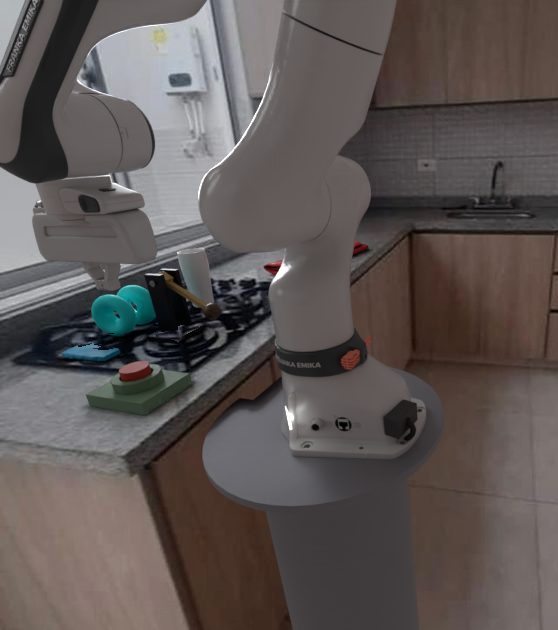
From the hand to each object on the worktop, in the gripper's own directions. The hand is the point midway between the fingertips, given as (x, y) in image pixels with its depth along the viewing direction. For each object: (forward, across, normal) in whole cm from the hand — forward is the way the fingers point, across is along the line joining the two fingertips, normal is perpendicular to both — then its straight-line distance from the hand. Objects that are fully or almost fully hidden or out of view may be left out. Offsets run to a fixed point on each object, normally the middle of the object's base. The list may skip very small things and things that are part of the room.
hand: (109, 289), depth 69 cm
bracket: (+19, -15, +23) cm, 33 cm away
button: (+15, 0, 0) cm, 15 cm away
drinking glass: (+19, -24, +41) cm, 51 cm away
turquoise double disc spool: (+19, -29, +23) cm, 42 cm away
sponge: (+19, -25, +10) cm, 33 cm away
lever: (+11, -10, +23) cm, 27 cm away
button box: (+19, 0, 0) cm, 19 cm away
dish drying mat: (+19, -16, +89) cm, 93 cm away
